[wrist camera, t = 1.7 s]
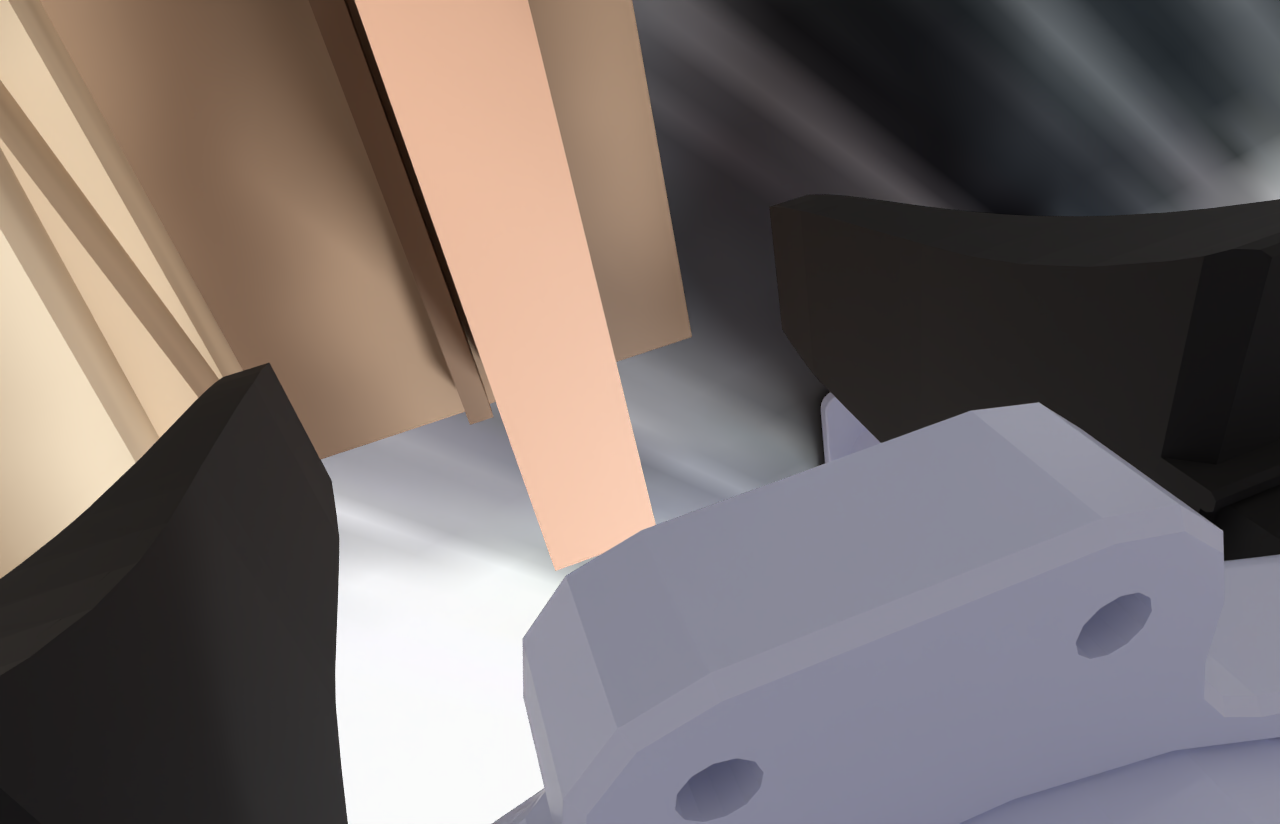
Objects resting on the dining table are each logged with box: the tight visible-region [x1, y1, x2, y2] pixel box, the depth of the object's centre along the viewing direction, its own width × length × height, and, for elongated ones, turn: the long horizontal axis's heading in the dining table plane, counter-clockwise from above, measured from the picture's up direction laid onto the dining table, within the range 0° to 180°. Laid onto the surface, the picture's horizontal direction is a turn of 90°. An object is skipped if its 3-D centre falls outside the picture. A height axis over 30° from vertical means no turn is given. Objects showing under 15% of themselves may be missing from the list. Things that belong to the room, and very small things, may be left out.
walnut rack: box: [40, 0, 692, 459], centre depth 18 cm, size 19×12×2 cm, turn 101°
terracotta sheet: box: [355, 0, 656, 571], centre depth 16 cm, size 2×10×8 cm, turn 11°
